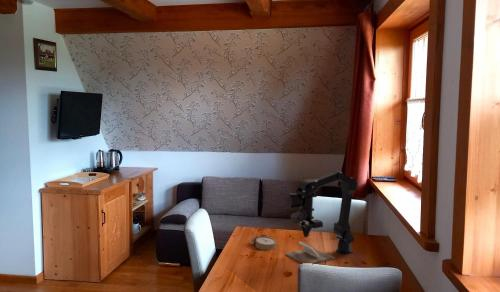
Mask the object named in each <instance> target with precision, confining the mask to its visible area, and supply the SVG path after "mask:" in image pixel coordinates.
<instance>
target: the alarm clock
mask: <svg viewBox="0 0 500 292" xmlns="http://www.w3.org/2000/svg"><path fill="white" fill-rule="evenodd" d="M251 243H252V245H253V246H255V247H256V248H257V249H259V250H262V251H269V250H274V249H276V248H277V247H279V244H277V239H275V238H273V237H271V236H267V235H266V234H261V235H260V236H259V235H258V236H257V235H256V236H253V237H252V239H251Z"/></svg>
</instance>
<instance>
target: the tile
mask: <svg viewBox="0 0 500 292" xmlns="http://www.w3.org/2000/svg"><path fill="white" fill-rule="evenodd" d="M298 244H299V245H300V246H301V247H302V248H303V249H305V251H307V252H309V253H311V254H313V255H315V256H317V257H319V256H320V255H319V253H318V252H317V251H316V250H315V248H316V247H315V246H313V245H310V244H308V243H306V242H304V241H302V240H299V242H298Z"/></svg>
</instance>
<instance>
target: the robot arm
mask: <svg viewBox="0 0 500 292" xmlns="http://www.w3.org/2000/svg"><path fill="white" fill-rule="evenodd" d="M336 181H337V182H338V183H340V190H341V195H342V196H341V202H340V203H341V204H340V208H339V209H340V210H339V215H338V216H339V217H338V221H337V222H334V223H333V229H332V231H333V233H334V234H333V235H335V237H336V239H338V243H337V249H335V252H338V253H340V254H342V255H347V254H352V253H354V251H353V250H352V244H353V243H354V242H355V237H354V236H353V235H352V233H351V231H352V230H351V225H350V214H351V206H352V201H353V200H352V199H353V195H354V193H355V192H356V190H357V187H358V180H357V179H356V178H355V177H351V176H349V175H347V174H344V173H343V172H342V171H338V170H334V171H332V172H331V173H330V172H329V173H327V174H325V175H322V176H319V177H317V178H309V179H304V180H302V181H300V184H299V186H298V187H297V189H296V191H295V192H294V193H288V196H287V197H286V199H285V204H286V207H287V208H289V209H293V208H298V210H297V211H296V212H293V213H291V214H290V215H289V216H290V218H289V219H290V220H291V222H292V223H294V224H297V225H299V226H300V227H301V230H302V234H303V237H304V238H308V236H309V234H310V232H311V230H312V229H318V228H319V229H320V228H324V223H323V221H322V220H320V219H317V218H316V219H315V216H313V212H314V211H315V208H313V203H314V202H313V201H314V198H317V196H318V195H317V194H316V191H318V190H319V188H321V187H323V186H324V187H325V186H326V185H329V184H331V183H334V182H336Z"/></svg>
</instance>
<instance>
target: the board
mask: <svg viewBox="0 0 500 292" xmlns="http://www.w3.org/2000/svg"><path fill="white" fill-rule="evenodd" d="M314 248H315V250H316V251H317V252H318V253H319V255H320V256H319V257H317V256H315V255H313V254H311V253H309V252H307V251H305V249H304V248H303V249H299V250H293V251H290V252H289V251H288V252H286V253H285V256H287V257H289V258H290V259H292V260H294V261H296V262H298V263H300V264H301V263H314V264H313V265H315V264H320V263H325V262H329V261H333V260H335V256H332V255H331V254H328V253H326V252H324V251H322V250H320V249H317V248H316V247H314Z"/></svg>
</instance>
